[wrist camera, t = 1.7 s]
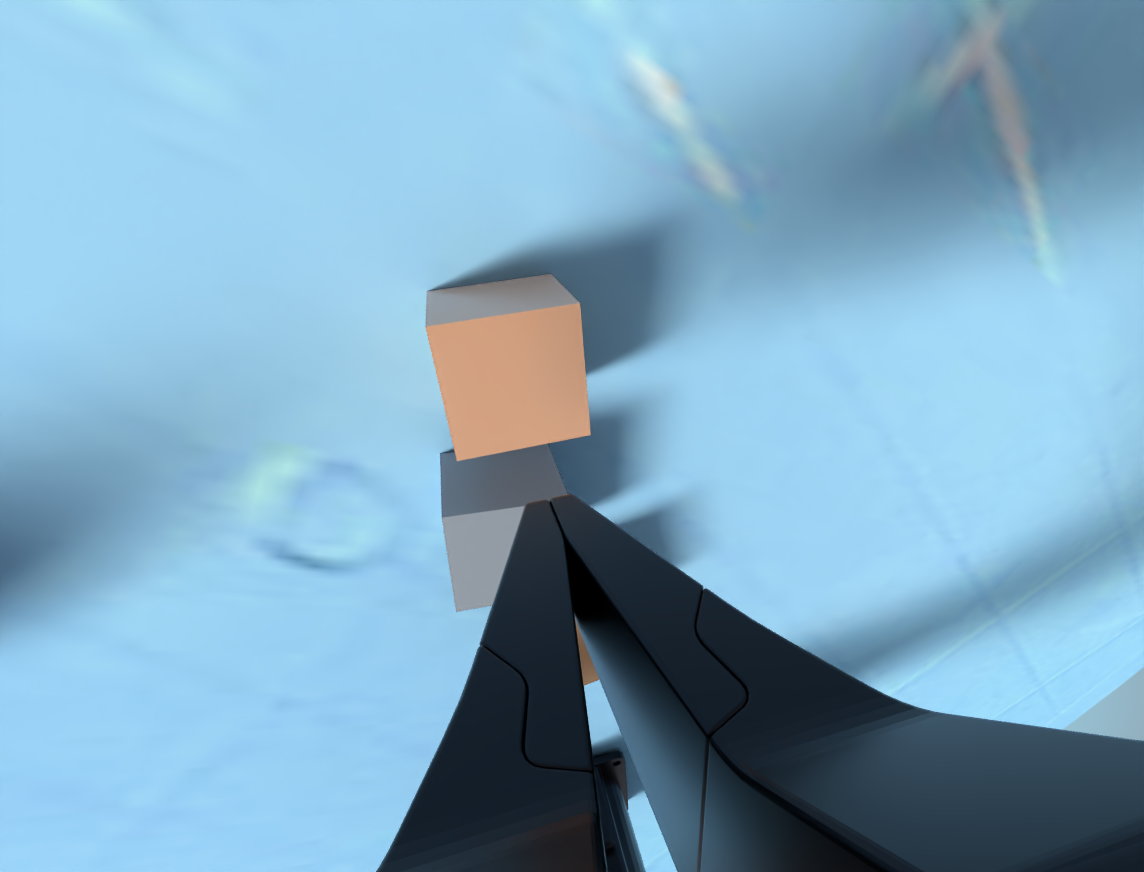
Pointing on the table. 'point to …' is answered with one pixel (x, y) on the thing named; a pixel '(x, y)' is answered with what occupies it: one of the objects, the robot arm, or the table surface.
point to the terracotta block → (509, 364)
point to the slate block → (489, 514)
